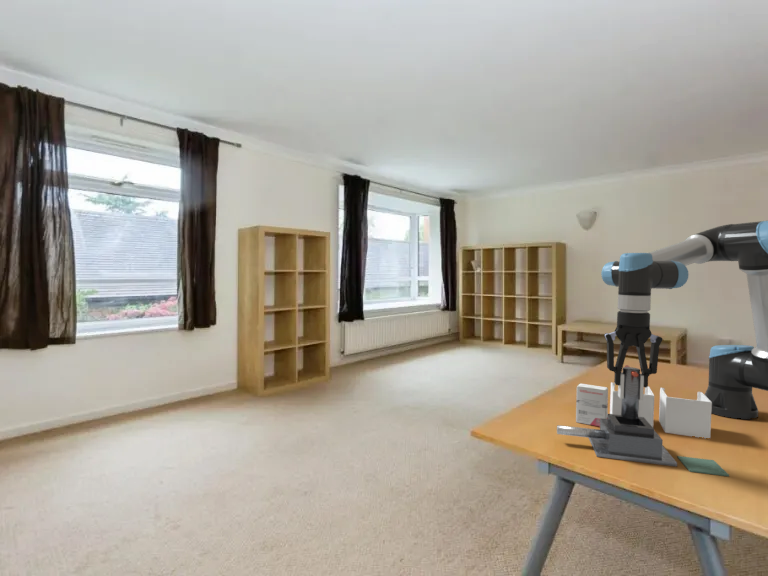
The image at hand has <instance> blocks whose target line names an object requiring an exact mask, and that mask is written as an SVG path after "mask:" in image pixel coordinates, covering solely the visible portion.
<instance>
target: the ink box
mask: <svg viewBox="0 0 768 576" xmlns="http://www.w3.org/2000/svg"><path fill="white" fill-rule="evenodd" d="M575 396H576V399H575V400H576V402H575V422H576V423H579V424H585V425H588V426H595V427H599V428H600V418H602V419H607V415H608V414H609V413H608V412H609V410H608V407H609V405H608V404H609V403H608V401H609V388H608V387H606V386H599V385H593V384H586V383H579V384H578V385H577V386H576V395H575Z"/></svg>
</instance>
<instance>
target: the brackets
mask: <svg viewBox="0 0 768 576" xmlns="http://www.w3.org/2000/svg"><path fill="white" fill-rule="evenodd" d="M615 388H616V384H615V382H612V381H611V382H610V393H609V394H610V397H609V398H610V399H609V400H610V401H609V414H615V415H621V403H622V399H621V398H620V397H619V396H618V390H615ZM665 391H666V389H665V388H664V387H660V389H659V406H658V407H659V409H658V410H659V411H658V412H659V413H658V421H659V424H660V426H661V427H662V429H663V432H664V433H666V434H673V435H679V436H687V437H692V436H695V437H694V438H699V437H702V438H701V439H706V438H710V439H711V431H712V430H711V429H712V427H711V426H712V425H711V424H712V413H711V410H712V402H711V401H710V400H709V399H708V398H707V397H706V396H705V393H703V391H697V393H696V394H697V397H696V399H688V398H681V397H672V396H668V395H667V394H666V392H665ZM654 412H655V394H654V392H653V391H652V389H651V387H650V386H649V385H648V386H647V387H644V393H643V400H639V412H638V417H644V418H645V419H646V420H647V422H648V423H649V424H650V425H651V426H652V427H653V428H654V420H655V419H654V417H655V415H654ZM703 437H704V438H703Z"/></svg>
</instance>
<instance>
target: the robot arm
mask: <svg viewBox="0 0 768 576" xmlns="http://www.w3.org/2000/svg"><path fill="white" fill-rule="evenodd" d="M707 262H738V263H737V264H738V269H739V270H740V271H742V272H744V273H745V274H746V278H747V279H746V280H747V287H748V293H749V301H750V308H751V314H752V321H753V328H754V329H753V330H754V336H755V343H756V346H755V347H754V345H745V344H718V345H714V346H712V347H710V350H709V356H708V359H709V360H708V361H709V363H708V386H707V389H706V390H705V393H704V395H705V396H706V397H707V398H708V399H709V400H710V401H711V402H712V410H711V414H714V415H716V416H721V417H724V416H725V418H730V417H731V418H732V419H737V418H741V419H740V420H751V419H750V418H756V417H758V418H759V408H758V406H757V403H756V400H755V398H754V394H753V388H754V389H758V390H762V391H767V392H768V220H763V221H762V220H761V221H751V222H743V223H742V222H741V223H730V224H729V223H728V224H724V225H719V226H716V227H713V228H709V229H706V230H704V231H700V232H698V233H694V234H692V235H690V236H688V237H686V239H685V240H684V241H679V242H678V243H674V244H671V245H668V246H665V247H662V248H659V249H656V250H653V251H650V252H626V253H622V254H621V255H620V257H619V261H617V260H614V261H608V262H606V263H605V264H604V265H603V267H602V270H601V279H602V281H603V282H604V284H606V285H607V286H612V287H616V288H617V287H618V291H617V293H618V294H617V295H618V296H617V309H618V310H619V311H617V315H616V317H617V318H616V327H615V330H614V331H612V332H610V333H608V332H606V333H604V334H603V336H604V338H605V340H606V341H605V342H606V367H607V369H608V370H609V371H610V372H614V375H613V376H614V378H613V379H614V381H613V383H615V386H617V391H618V396H619V397H620V398H621V399H623V398H624V374H623V367H624V364H625V361H626V360H625V359H626V355H627V353H628V350H629V347H633V346H634V347H636V348H635V349H636V352H637V356H638V362H639V363H638V364H639V367H640V368H639V369H640V386H639V400H643V394H644V390H645V387H647V386H649V376H651V375H656V374H657V372H658V364H659V363H658V362H659V352H660V345H662V342H663V337H661V336H660V335H655V334H653V333H652V331H651V328H650V327H651V314H650V313H649V311H651V307H652V306H651V303H652V300H651V299H652V296H651V295H652V289H656V290H657V289H664V290H665V289H666V290H667V289H669V290H672V289H678V288H681V287H683V286H685V284H686V283H687V281H688V280H689V270H688V267H687V266H689V265H692V264H698V265H699V264H705V263H707ZM616 337H617V338H618V340H619V341H620V344H619V350H618V354H617V358H616V361H615V352H614V351H615V350H614V349H615V348H614V347H615V346H614V345H615V344H614V341H615V340H616ZM649 339H650V340H649ZM648 340H649V341H650V342H651V343H650V351H649V361H647V356H646V347H645V343H646V342H647V341H648ZM648 362H649V363H648ZM731 418H730V419H731ZM756 419H757V418H756Z"/></svg>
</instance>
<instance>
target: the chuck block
mask: <svg viewBox="0 0 768 576" xmlns="http://www.w3.org/2000/svg"><path fill="white" fill-rule="evenodd" d="M556 434H557V435H562V436H563V435H564V436H570V437H571V436H572V437H578V438H579V437H581V438H588V440H589V442H590V445H591V446H592V449H593V451H594V453H595V456H596V457H597V458H605V459H612V460H620V461H621V460H622V461H628V462H637V463H643V464H644V463H646V464H650V465H651V464H652V465H653V464H654V465H660V466H661V465H662V466H670V467H678V462H677V461H676V459H675V458H674V457H673V456H672V454H670V452H669V451H668V450H667V449H666V448H665V447H664V444H663V443H664V442H663V438H662V437H661V436H660V435H659V434H658V433H657V431H656V430H655V428H654V426H653V427H652V426H651V425H650V424H649V423H648V422H647V420H646V419H645V418H644V417H638V419H627V418H624V417H622V416H621V415H615V414H610V413H608V415H607V419H602V418H600V427H599V429H596V428H589V427H588V428H587V427H580V426H579V427H578V426H569V425H568V426H567V425H562V424H561V425H559V424H558V425H557V426H556Z"/></svg>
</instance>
